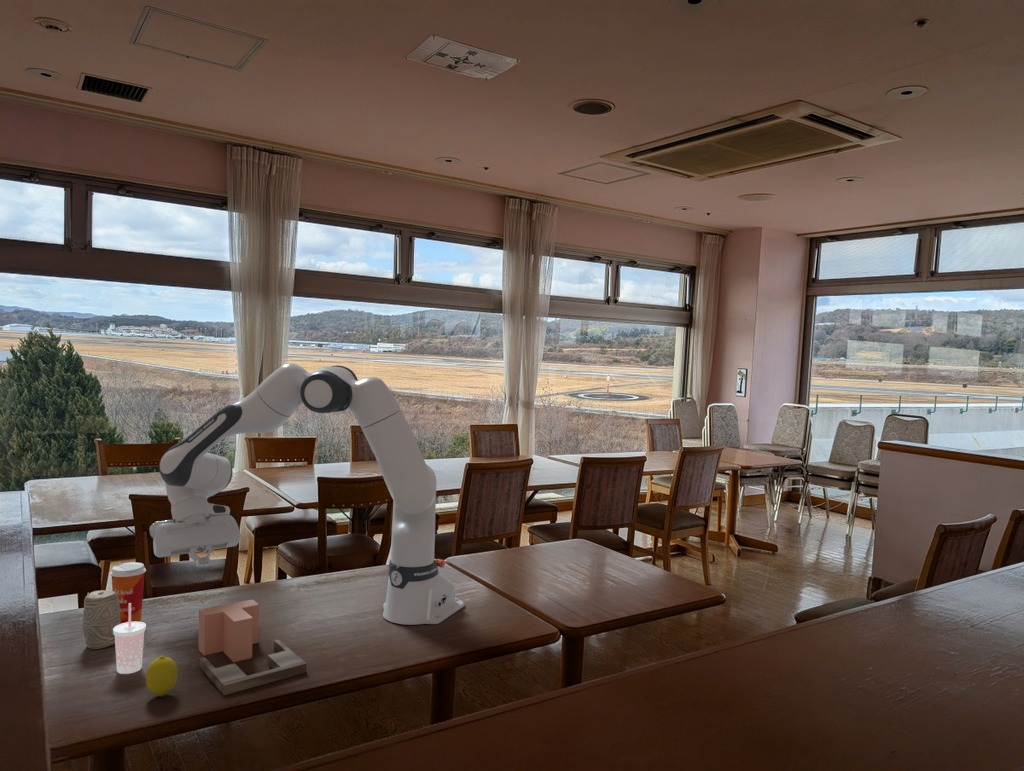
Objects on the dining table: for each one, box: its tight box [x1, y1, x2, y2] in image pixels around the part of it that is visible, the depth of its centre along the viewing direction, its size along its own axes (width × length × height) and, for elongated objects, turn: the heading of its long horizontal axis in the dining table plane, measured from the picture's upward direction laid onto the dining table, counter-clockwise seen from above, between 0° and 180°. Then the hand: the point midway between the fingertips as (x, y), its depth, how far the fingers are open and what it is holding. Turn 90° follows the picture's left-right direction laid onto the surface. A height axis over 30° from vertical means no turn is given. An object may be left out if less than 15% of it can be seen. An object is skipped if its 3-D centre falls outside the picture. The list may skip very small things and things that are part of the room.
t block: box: [198, 599, 260, 663], centre depth 162 cm, size 11×12×9 cm
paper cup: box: [109, 561, 147, 624], centre depth 175 cm, size 8×8×14 cm
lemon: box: [145, 655, 178, 697], centre depth 141 cm, size 6×6×8 cm
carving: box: [82, 589, 120, 650], centre depth 162 cm, size 6×8×12 cm
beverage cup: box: [113, 603, 147, 675], centre depth 151 cm, size 6×6×14 cm
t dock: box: [199, 639, 307, 696], centre depth 153 cm, size 15×17×2 cm
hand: (203, 565), depth 178 cm, fingers closed
